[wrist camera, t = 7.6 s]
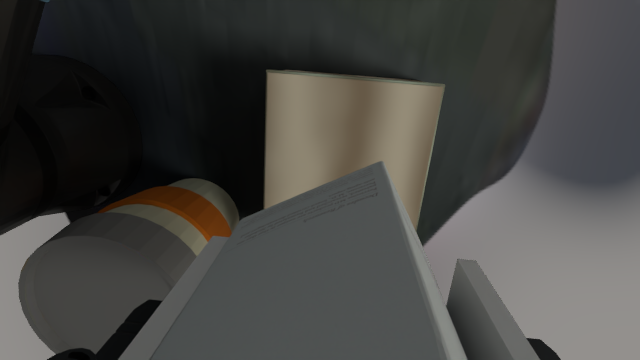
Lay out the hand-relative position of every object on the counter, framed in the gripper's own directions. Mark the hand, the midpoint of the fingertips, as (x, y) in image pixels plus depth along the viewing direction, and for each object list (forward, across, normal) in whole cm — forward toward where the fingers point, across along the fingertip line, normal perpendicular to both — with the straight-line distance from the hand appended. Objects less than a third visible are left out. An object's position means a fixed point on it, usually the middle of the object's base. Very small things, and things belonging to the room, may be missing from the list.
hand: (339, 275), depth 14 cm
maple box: (+20, 0, 0) cm, 20 cm away
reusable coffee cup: (+20, -15, -8) cm, 26 cm away
